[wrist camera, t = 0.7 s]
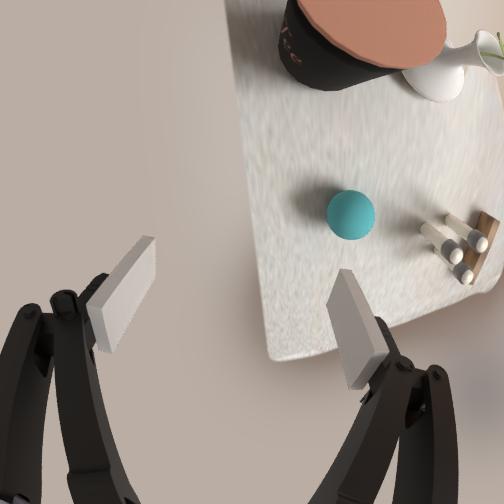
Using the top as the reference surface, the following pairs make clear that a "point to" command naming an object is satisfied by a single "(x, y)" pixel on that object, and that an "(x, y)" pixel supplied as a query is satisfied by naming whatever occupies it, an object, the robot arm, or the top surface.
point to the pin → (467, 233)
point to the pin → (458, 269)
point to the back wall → (489, 229)
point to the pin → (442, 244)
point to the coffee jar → (358, 39)
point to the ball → (350, 215)
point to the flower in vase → (456, 67)
